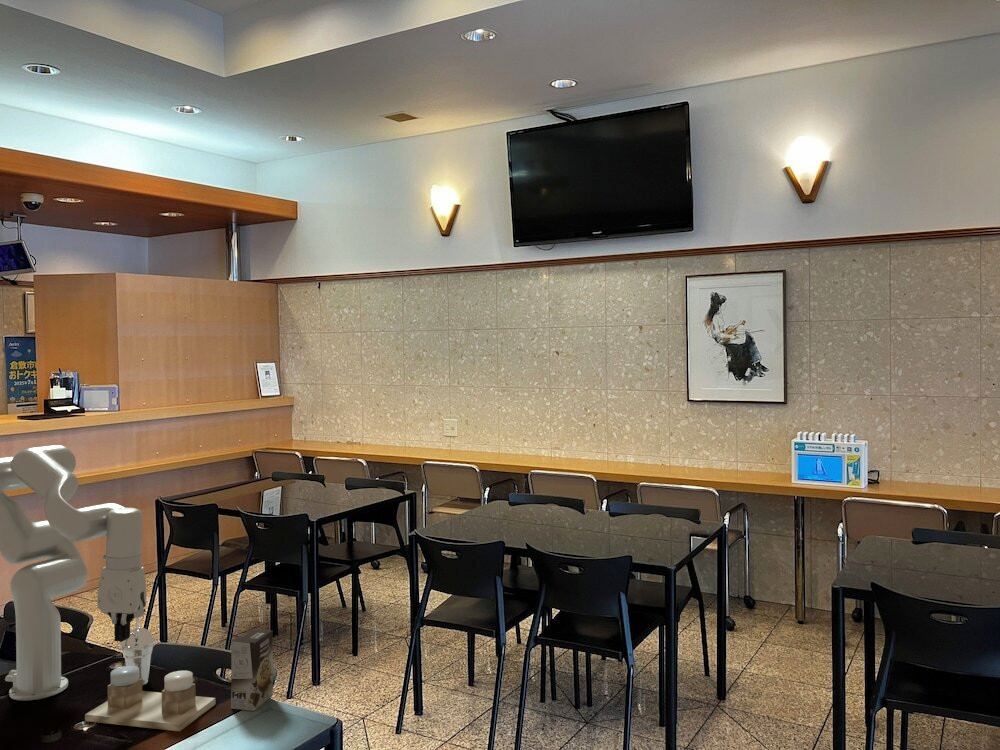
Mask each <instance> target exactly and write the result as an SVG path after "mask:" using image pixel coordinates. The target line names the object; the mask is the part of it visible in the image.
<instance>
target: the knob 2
mask: <svg viewBox="0 0 1000 750" xmlns="http://www.w3.org/2000/svg"><path fill="white" fill-rule="evenodd" d="M193 675H194V673H193V672H192V671H190V670H177V671H172V672H169V673H168V674H166V675H165V676H164V689H165V690H167V691H173V692H174V691H182V690H185V689H188V688H190V687H191V686H192V685H193V684H194V682H193V680H194V679H193Z"/></svg>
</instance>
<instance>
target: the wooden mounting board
mask: <svg viewBox="0 0 1000 750" xmlns="http://www.w3.org/2000/svg"><path fill="white" fill-rule="evenodd" d="M215 705H216V697H209V696H197V695H196V683H193V685H192V686H191V687H190V688H188V689H185V690H182V691H174V692H173V691H167V690H165V688H163V689H162V690H161V692H159V691H158V692H157V691H146V690H143V685H142V679H140V678H139V680H138V681H137V682H136V683H133V684H131V685H126V686H113V685H111V683H110V684H108V685H107V700H106V701H105V702H103V703H102V704H100V705H98V706H97V707H95V708H93V709H91V710H90V711H88V712H87V713H85V714H84V721H85V722H92V723H99V724H100V723H101V724H109V725H119V726H128V727H134V728H135V727H138V728H145V729H146V728H147V729H155V730H163V731H173V732H181V731H182V730H184V729H185V728H186V727H188V726H189V725H190V724H192V723H193V722H195V720H197V719H198V718H199V717H201V716H202V715H203V714H205V713H206V712H208V711H209V710H210V709H211V708H213V707H214V706H215Z"/></svg>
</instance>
